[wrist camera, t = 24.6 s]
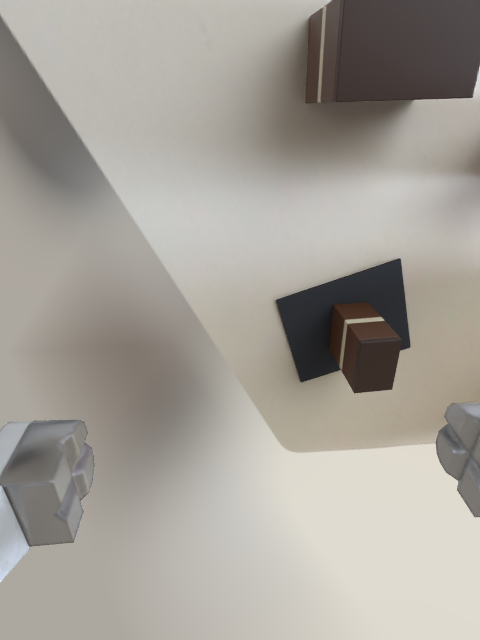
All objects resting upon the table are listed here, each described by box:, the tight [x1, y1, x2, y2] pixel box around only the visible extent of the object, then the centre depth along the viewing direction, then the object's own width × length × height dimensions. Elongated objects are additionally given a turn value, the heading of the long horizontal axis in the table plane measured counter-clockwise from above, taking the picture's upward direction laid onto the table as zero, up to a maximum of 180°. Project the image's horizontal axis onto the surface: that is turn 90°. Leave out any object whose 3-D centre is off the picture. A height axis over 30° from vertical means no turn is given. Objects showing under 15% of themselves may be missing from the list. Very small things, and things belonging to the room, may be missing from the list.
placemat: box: [276, 259, 410, 382], centre depth 45 cm, size 14×12×1 cm
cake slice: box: [329, 302, 402, 393], centre depth 42 cm, size 4×6×8 cm, turn 2°
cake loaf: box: [306, 0, 480, 103], centre depth 29 cm, size 10×6×8 cm, turn 92°
